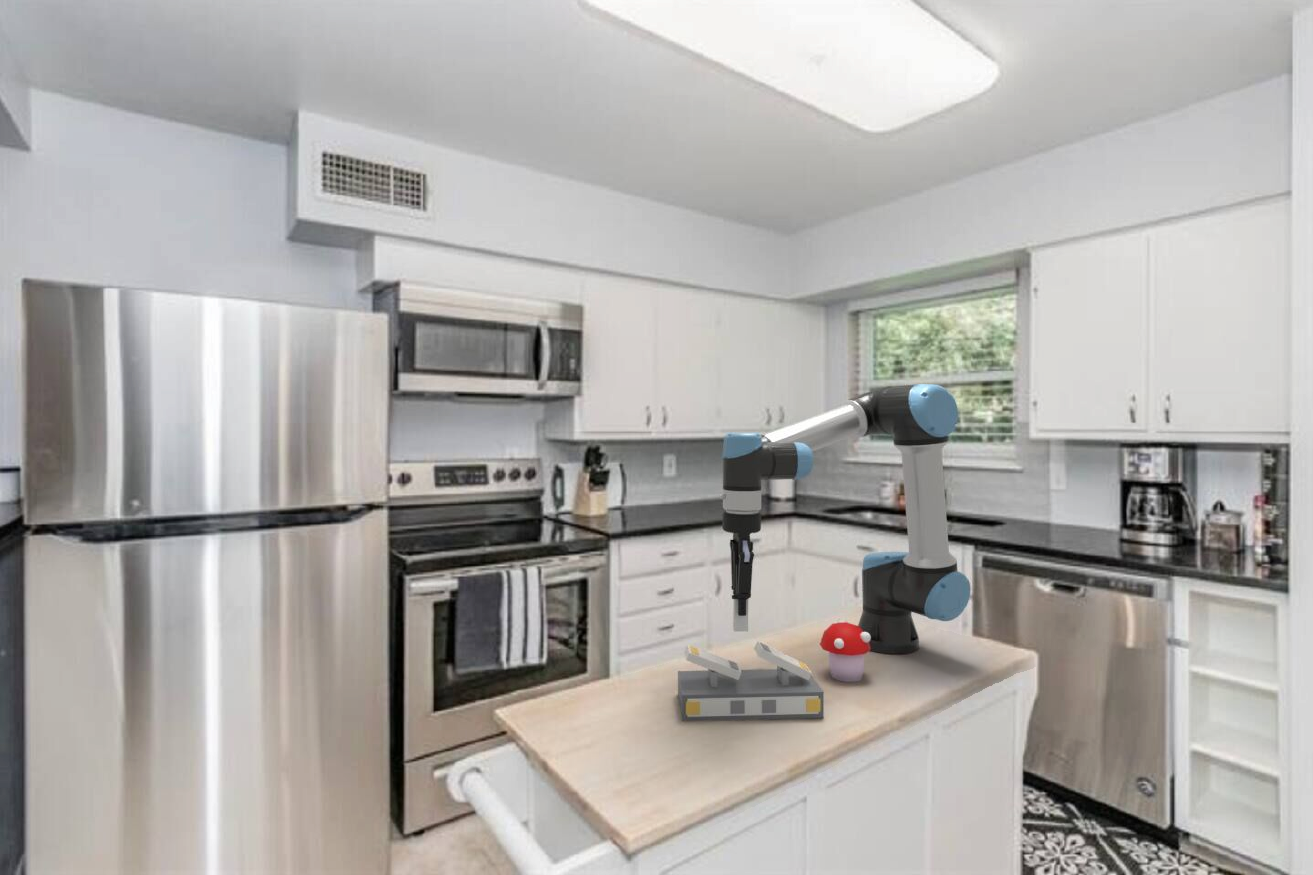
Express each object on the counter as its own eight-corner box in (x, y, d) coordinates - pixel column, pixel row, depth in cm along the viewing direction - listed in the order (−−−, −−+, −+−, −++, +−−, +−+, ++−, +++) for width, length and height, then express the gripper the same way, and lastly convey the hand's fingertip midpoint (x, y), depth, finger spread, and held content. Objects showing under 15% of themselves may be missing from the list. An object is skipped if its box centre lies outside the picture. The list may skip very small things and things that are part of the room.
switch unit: (807, 691, 139) (807, 655, 139) (824, 718, 127) (824, 678, 127) (678, 694, 138) (677, 657, 138) (682, 722, 126) (682, 681, 126)
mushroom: (870, 688, 141) (870, 632, 140) (817, 682, 144) (817, 627, 144) (871, 670, 151) (871, 617, 150) (821, 664, 154) (821, 613, 154)
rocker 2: (802, 671, 135) (806, 663, 135) (808, 680, 130) (812, 672, 130) (754, 648, 135) (757, 640, 135) (758, 656, 130) (762, 648, 130)
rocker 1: (734, 670, 135) (738, 662, 135) (738, 680, 130) (741, 671, 130) (684, 651, 134) (687, 643, 134) (686, 660, 130) (689, 651, 130)
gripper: (718, 506, 138) (717, 620, 138) (727, 515, 125) (726, 641, 125) (754, 507, 138) (753, 620, 138) (767, 515, 125) (766, 640, 125)
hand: (740, 630), depth 132 cm, fingers closed
